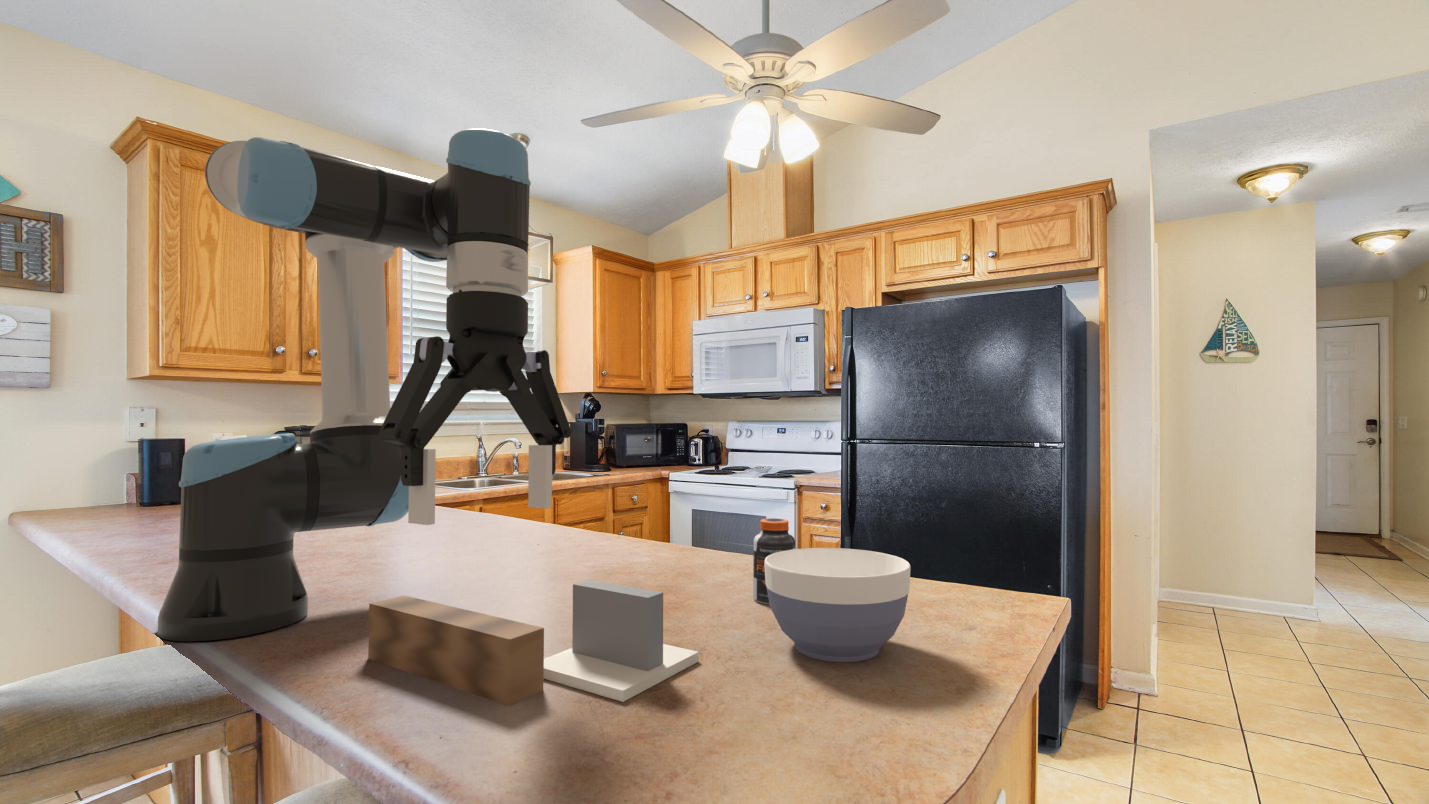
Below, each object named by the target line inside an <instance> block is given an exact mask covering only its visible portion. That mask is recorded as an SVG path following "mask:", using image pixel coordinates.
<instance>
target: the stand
mask: <svg viewBox="0 0 1429 804" xmlns="http://www.w3.org/2000/svg"><path fill="white" fill-rule="evenodd" d="M571 645H572V647H569V648H568V649H565V650H563V651H561V652H558V653H555V654H553V655H550V656H548V657H544V677H543V680H548V681H551V682H554V683H558V684H561V685H564V686H567V687H571V688H575V689H577V690H580V691H583V692H584V691H585V692H588V693H592V694H595V695H597V696H602V697H604V698H608V699H612V700H615V701H619V702H622V703H624V702H626V701H628V700H630V699H631V698H633V697H635V696H637V695H639V694H641V693H643V692H645V691H646V690H648V689H650V688H653V686H656V685H657V684H659V683H661V682H663V681H665V680H667V679H668V678H671V677H672V676H674V675H676V674H678V673H679V672H682V671H683V670H686V669H687V668H689V667H691V666H693V665H695V664H696V663H699V661H700V659H699V655H700V654H699V653H700V652H699V651H697V650H692V649H688V648H683V647H679V646H674V645H669V644H666V643H664V592H662V591H656V590H650V589H644V588H638V587H634V586H627V585H621V584H617V583H615V584H614V583H610V582H603V581H599V580H592V579H587V580H583V581H581V582H576V583H572V644H571Z"/></svg>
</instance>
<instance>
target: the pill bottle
mask: <svg viewBox="0 0 1429 804" xmlns="http://www.w3.org/2000/svg"><path fill="white" fill-rule="evenodd" d="M759 529H760V532H759V533H758V534H756V535H755V537H754V538H753V558H752V559H753V560H752V561H753V564H752V567H753V573H752V574H753V575H752V576H753V578H752V579H753V580H752V581H753V582H752V585H753V586H752V587H753V588H752V596H753V597H752V598H753V600H754V601H756V602H757V603H760V604H764V605H770V603H769V598H768V593H767V587H766V582H765V566H764V561H765V558H766V557H767V556H769V555H771V554H773V553H777V552H781V551H786V550H793V549H796V539H795V537H794V535H792V534H790V533H789V529H790V527H789V520H787V519H785V518H784V519H783V518H776V517H775V518H773V517H772V518H771V517H769V518H763V519H762V518H761V519H760V522H759Z"/></svg>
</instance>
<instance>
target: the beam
mask: <svg viewBox="0 0 1429 804" xmlns="http://www.w3.org/2000/svg"><path fill="white" fill-rule="evenodd" d="M368 605H369V608H368V643H367V645H368V646H367V647H368V649H367V659H368V660H371V661H374V662H376V663H377V662H378V663H380V664H382V665H386V666H389V667H392V668H395V669H398V670H400V671H405V672H407V673H411V674H413V675H416V676H420V677H421V678H425V679H428V680H431V681H435V682H437V683H440V684H441V685H446V686H448V687H452V688H455V689H458V690H460V691H463V692H467V693H469V694H473V695H476V696H477V697H478V696H479V697H481V698H484V699H488V700H489V701H490V700H491V701H494V702H496V703H499V704H503V705H506V706H507V707H509V706H512V705H514V704H516V703H519V702H521V701H523V700H525V699H528V698H530V697H531V696H535V695H537V694H538V693H541V692H543V691H544V679H543V677H544V659H545V657H544V656H545V655H544V654H545V628H544V627H542V626H538V625H532V624H529V623H525V622H520V621H515V620H512V619H509V618H508V619H507V618H504V617H499V616H496V615H495V616H494V615H490V614H485V613H483V612H482V613H481V612H479V611H478V612H477V611H473V610H469V609H466V608H465V609H464V608H460V607H455V606H452V605H451V606H450V605H447V604H443V603H438V602H435V601H430V600H426V599H422V598H421V599H420V598H417V597H412V596H409V595H402V596H401V595H400V596H397V597H391V598H387V599H383V600H379V601H375V602H370V603H369V604H368Z"/></svg>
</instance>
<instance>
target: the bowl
mask: <svg viewBox="0 0 1429 804" xmlns="http://www.w3.org/2000/svg"><path fill="white" fill-rule="evenodd" d="M764 566H765V582H766V587H767V593H768V598H769V603H770V604H769V607H770V609H771V611H772V613H773V615H774V617H775V620H776V621H777V624H778V625H779V627H780V630H781V631H782V632H783V633H784V634H785V635H786V636H787V637H788V638H789V639H790V640H791V641H792V642H793V643H794V647H795V649H796V650H797V651H798V652H799V653H800V654H802V655H804V656H806V657H808V658H811V659H815V660H820V661H822V662H823V661H825V662H831V663H856V662H863V661H867V660H870V659H873V658H875V657H876V656H877V655H878V654H879V652H880V648H881V647H882V646H884V645H885V644H886V643H887V642H888V641H889V640H890V639H892V638H893V637H894V636H895V633H896V631H897V630H898V628H899V627H900V624H901V622H902V620H903V618H904V617H905V614H906V608H907V603H908V598H909V593H910V588H911V587H910V584H911V569H912V568H911V564H910V563H909V561H907V560H906V559H904V558H902V557H899V556H897V555H894V554H893V555H892V554H888V553H884V552H881V551H879V552H878V551H874V550H873V551H872V550H866V549H856V548H855V549H854V548H842V547H808V548H797V549H796V548H795V549H793V550H786V551H781V552H777V553H773V554H771V555H769V556H767V557H766V558H765V561H764Z"/></svg>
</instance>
